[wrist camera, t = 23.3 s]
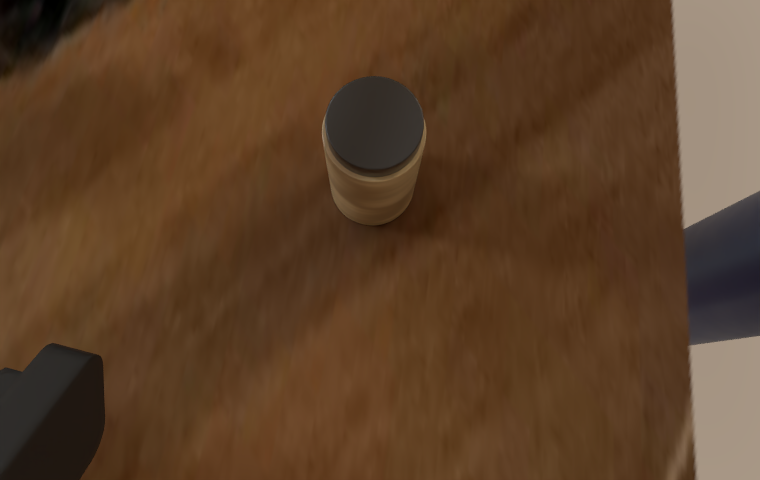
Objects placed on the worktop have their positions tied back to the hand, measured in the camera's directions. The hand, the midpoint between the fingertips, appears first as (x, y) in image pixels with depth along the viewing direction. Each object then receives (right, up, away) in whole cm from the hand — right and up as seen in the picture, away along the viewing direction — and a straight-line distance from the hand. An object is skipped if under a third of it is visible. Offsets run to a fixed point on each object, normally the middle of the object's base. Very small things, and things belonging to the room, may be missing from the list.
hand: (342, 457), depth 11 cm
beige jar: (0, +7, +30) cm, 31 cm away
